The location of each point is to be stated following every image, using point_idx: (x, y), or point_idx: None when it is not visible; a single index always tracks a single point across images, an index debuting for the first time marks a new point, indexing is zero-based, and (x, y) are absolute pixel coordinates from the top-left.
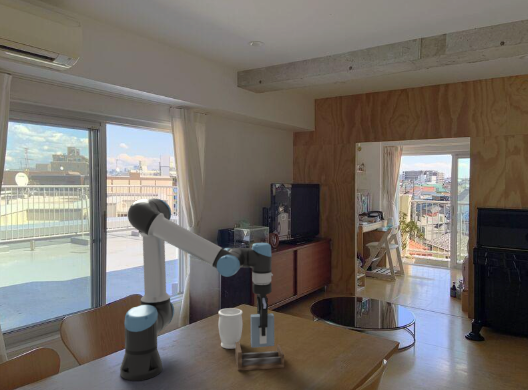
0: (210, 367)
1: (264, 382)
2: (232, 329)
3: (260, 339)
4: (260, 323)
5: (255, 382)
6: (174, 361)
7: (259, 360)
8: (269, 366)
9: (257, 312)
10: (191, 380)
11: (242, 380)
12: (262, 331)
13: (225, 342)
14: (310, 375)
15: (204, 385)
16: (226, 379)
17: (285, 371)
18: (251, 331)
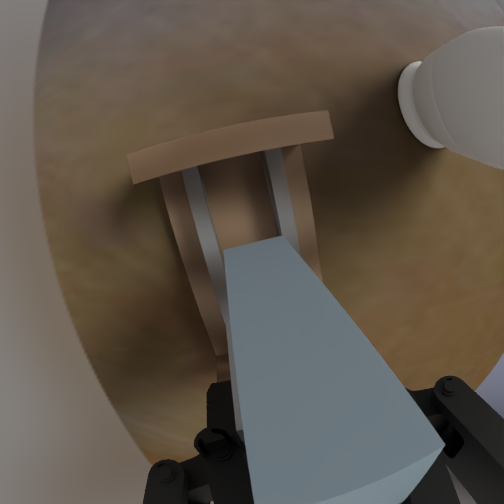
0: (187, 21)
1: (80, 292)
2: (465, 98)
3: (229, 347)
4: (211, 485)
5: (70, 257)
6: None
7: (209, 272)
8: (199, 309)
9: (489, 430)
10: (75, 2)
11: (72, 199)
12: (209, 422)
13: (416, 72)
14: (175, 419)
15: (36, 61)
16: (73, 125)
17: (185, 361)
18: (239, 314)
